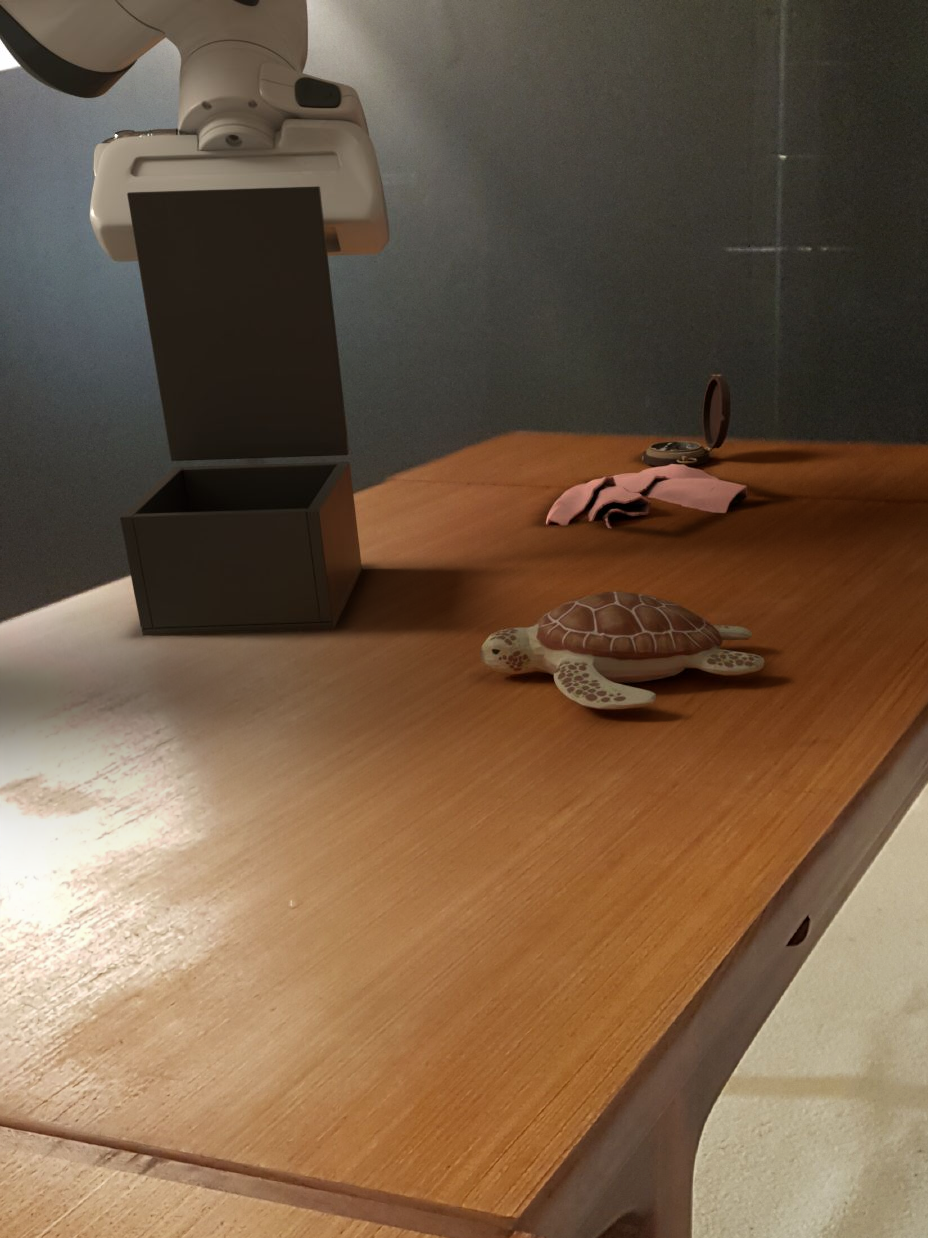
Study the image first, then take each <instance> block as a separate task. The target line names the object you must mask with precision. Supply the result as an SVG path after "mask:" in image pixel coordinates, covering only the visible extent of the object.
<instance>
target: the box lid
mask: <svg viewBox="0 0 928 1238" xmlns="http://www.w3.org/2000/svg"><path fill="white" fill-rule="evenodd" d="M127 197H128V203H129V209H130V215H131V221H132V227H133V233H134V239H135V246H136V252H137V258H138V261H137V265H138V270H139V276H140V282H141V287H142V294H143V300H144V306H145V313H146V319H147V325H148V331H149V336H150V342H151V349H152V355H153V356H152V357H153V361H154V368H155V372H156V373H155V374H156V379H157V386H158V392H159V397H160V398H159V399H160V405H161V410H162V415H163V422H164V426H165V434H166V440H167V446H168V453H169V458H170V461H171V462H188V461H189V462H190V461H219V460H220V461H221V460H246V459H247V460H249V459H250V460H251V459H278V458H279V459H281V458H308V457H309V458H311V457H313V458H314V457H341V456H342V457H343V456H345V457H346V456H349V454H350V447H349V446H350V445H349V438H348V428H347V419H346V411H345V410H346V409H345V401H344V393H343V384H342V374H341V365H340V355H339V347H338V337H337V328H336V321H335V320H336V319H335V311H334V310H335V309H334V301H333V291H332V283H331V274H330V265H329V256H328V255H327V246H326V237H325V228H324V219H323V210H322V201H321V191H320V187H319V186H315V187H283V188H252V189H220V190H188V191H157V192H128V193H127Z"/></svg>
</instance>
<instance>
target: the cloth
mask: <svg viewBox="0 0 928 1238" xmlns="http://www.w3.org/2000/svg"><path fill="white" fill-rule="evenodd" d="M747 487H748V486H747V485H745V484H739V483H735V482H731V481H727V480H721V479H719V478H718V477H716V476H715V475H711V474H709V473H707V472H705V471H704V470H702V469H700V468H695V467H691V466H689V467H688V466H686V465H678V464H670V465H668V466H661V467H657V466H653V467H649V468H645V469H643V470H641V471H639V472H626V473H619V474H615V475H612V476H609V475H605V476H604V477H602V478H595V479H591V480H590V481H589V482H587V483H580V484H577V485H575V486H572V487H570V488H569V489H567V490H565V491H564V492H563V494H561V496H560V497H558V498H557V499H556V501H554V503H553V504H552V506H551V508H550V510H549V512H548V513H547V516H546V521H545V525H547V526H548V525H549V524H551V523H556V524H558V525H560V526H568V525H569V523H570V521H571V520H572V519H574V518H575V517H576V516H577V515H579V514H580V513H582V512H583V511H584V510H585V509H586V507H587V506H589V508H588V509H587V510H586V513H587V516H588V522H594V520H595V518H596V516H597V513H598V511H600V512H601V518H602V520H603V522H604V523H605V526H606V527H607V528H608V529H613V527H612V525H611V523H612V522H611V520H610V518H609V517H610V516H612V515H615V514H617V515H618V514H619V515H626V516H630V517H637V516H644V515H645V516H646V515H649V512H650V509H651V505H652V501H651V500H649V499H648V498H651V499H656V500H660V501H663V502H667V503H670V504H674V505H675V504H676V505H681V507H683V508H684V507H685V508H691V509H697V510H699V511H704V512H709V513H717V514H718V513H720V514H726V513H727V511H728V509H729V507H730V506H732V505H733V504H736V503H741V502H743V501H744V500H746V499H747V498H748V488H747ZM645 496H646V497H645Z"/></svg>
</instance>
